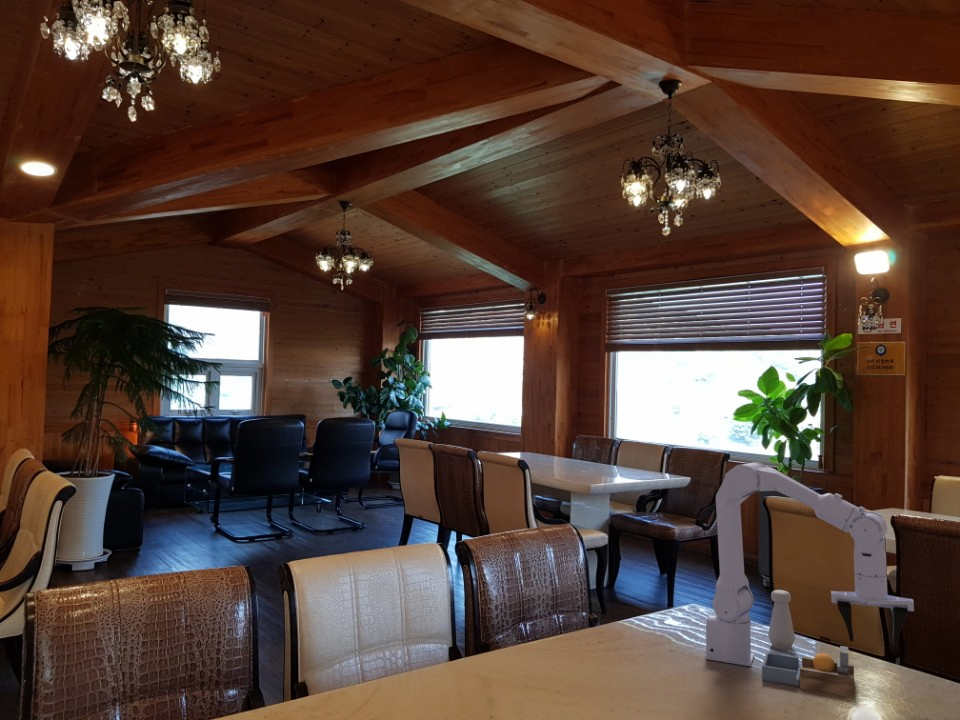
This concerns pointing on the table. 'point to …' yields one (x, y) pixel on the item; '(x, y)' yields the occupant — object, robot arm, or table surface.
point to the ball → (823, 663)
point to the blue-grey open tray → (781, 669)
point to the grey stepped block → (843, 661)
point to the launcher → (826, 679)
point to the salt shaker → (781, 621)
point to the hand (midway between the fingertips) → (872, 642)
